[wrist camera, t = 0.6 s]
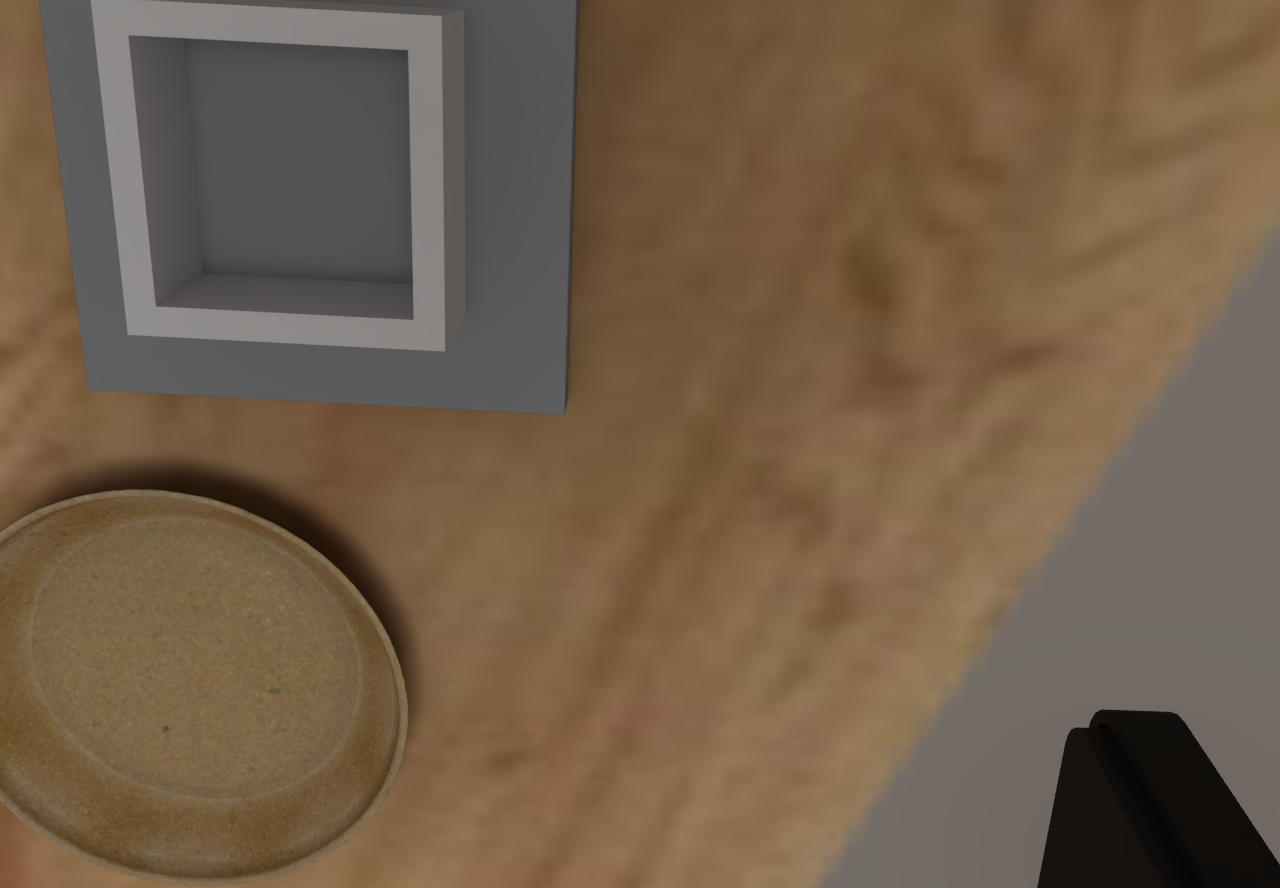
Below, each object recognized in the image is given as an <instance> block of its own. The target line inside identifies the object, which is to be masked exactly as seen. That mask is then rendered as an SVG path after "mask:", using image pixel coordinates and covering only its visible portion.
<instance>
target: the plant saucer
mask: <svg viewBox="0 0 1280 888" xmlns="http://www.w3.org/2000/svg"><path fill="white" fill-rule="evenodd" d="M407 726H408V701H407V693H406V687H405V681H404V678H403V675H402V671H401V667H400V664H399V661H398V658H397V655H396V652H395V650H394V647H393V645H392V643H391V640H390V638H389V636H388V634H387V632H386V630H385V628H384V627H383V625H382V623H381V621H380V620H379V618H378V617H377V615H376V614H375V612H374V610H373V609H372V608H371V606H370V605H369V603H368V602H367V601H366V599H365V598H364V597H363V596H362V594H361V593H360V591H359V590H358V589H357V588H356V587H355V586H354V585H353V584H352V582H351V581H350V580H349V579H348V578H347V577H346V576H345V575H344V574H343V573H342V572H341V571H340V570H339V569H338V568H337V567H336V566H335V565H334V564H332V563H331V562H330V561H329V560H328V559H327V558H326V557H324V556H323V555H322V554H321V553H319V552H318V551H317V550H316V549H314V548H313V547H312V546H310V545H309V544H308V543H306V542H305V541H303V540H302V539H300V538H299V537H297V536H295V535H294V534H292V533H291V532H289V531H287V530H286V529H284V528H282V527H280V526H278V525H276V524H274V523H273V522H270V521H268V520H266V519H264V518H262V517H260V516H258V515H255V514H253V513H251V512H249V511H246V510H244V509H241V508H238V507H236V506H233V505H230V504H227V503H224V502H220V501H217V500H214V499H211V498H207V497H202V496H196V495H191V494H185V493H179V492H172V491H164V490H147V489H126V490H113V491H106V492H97V493H92V494H87V495H82V496H77V497H73V498H70V499H67V500H63V501H60V502H57V503H54V504H51V505H49V506H46V507H44V508H41V509H39V510H37V511H35V512H32V513H30V514H28V515H26V516H25V517H23V518H21V519H20V520H18V521H16V522H15V523H13V524H12V525H10V526H8V527H7V528H5V529H4V530H3V531H1V532H0V801H1V802H2V803H3V804H4V805H5V806H6V807H8V808H9V809H10V810H11V811H12V812H13V813H14V814H15V815H16V816H17V817H18V818H20V819H21V820H22V821H24V822H25V823H26V824H28V825H29V826H31V827H32V828H33V829H34V830H35V831H37V832H38V833H40V834H41V835H43V836H44V837H46V838H47V839H49V840H50V841H52V842H53V843H55V844H57V845H59V846H60V847H62V848H64V849H65V850H67V851H69V852H71V853H73V854H75V855H77V856H79V857H80V858H84V859H87V860H88V861H90V862H92V863H95V864H97V865H99V866H101V867H104V868H107V869H109V870H112V871H115V872H119V873H121V874H125V875H129V876H132V877H135V878H139V879H145V880H152V881H155V882H160V883H167V884H172V885H186V886H225V885H235V884H245V883H252V882H257V881H262V880H267V879H270V878H274V877H278V876H282V875H285V874H288V873H291V872H294V871H297V870H299V869H301V868H304V867H306V866H308V865H310V864H312V863H314V862H317V861H318V860H320V859H322V858H324V857H326V856H327V855H329V854H330V853H332V852H333V851H335V850H336V849H338V848H339V847H341V846H342V845H343V844H345V843H346V842H347V841H349V840H350V839H351V838H352V837H353V836H354V835H356V834H357V832H358V831H359V830H360V829H361V828H362V827H363V826H364V825H365V824H366V823H367V822H368V821H369V820H370V819H371V818H372V817H373V816H374V814H375V813H376V812H377V811H378V809H379V808H380V806H381V805H382V803H383V802H384V800H385V798H386V796H387V794H388V792H389V790H390V788H391V787H392V785H393V782H394V779H395V777H396V774H397V772H398V769H399V767H400V764H401V761H402V758H403V753H404V748H405V743H406V739H407Z"/></svg>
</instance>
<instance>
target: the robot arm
mask: <svg viewBox="0 0 1280 888" xmlns="http://www.w3.org/2000/svg"><path fill="white" fill-rule="evenodd" d="M1037 888H1280V865H1279V863H1278V861H1277V860H1276V858H1275V857H1274V855H1273V854H1272V852H1271V851H1270V849H1269V848H1268V846H1267V845H1266V843H1265V842H1264V840H1263V839H1262V837H1261V836H1260V835H1259V833H1258V831H1257V830H1256V829H1255V827H1254V825H1253V824H1252V822H1251V821H1250V819H1249V818H1248V816H1247V815H1246V814H1245V812H1244V810H1243V809H1242V807H1241V806H1240V804H1239V803H1238V802H1237V800H1236V798H1235V797H1234V796H1233V794H1232V792H1231V791H1230V789H1229V788H1228V786H1227V785H1226V783H1225V782H1224V781H1223V779H1222V778H1221V776H1220V774H1219V773H1218V771H1217V770H1216V768H1215V767H1214V765H1213V764H1212V762H1211V761H1210V759H1209V758H1208V757H1207V755H1206V753H1205V752H1204V750H1203V749H1202V747H1201V746H1200V745H1199V743H1198V742H1197V740H1196V739H1195V737H1194V736H1193V734H1192V732H1191V731H1190V729H1189V728H1188V726H1187V725H1186V723H1185V722H1184V721H1183V720H1182V719H1181V718H1180V717H1179V716H1178V715H1177V714H1175V713H1172V712H1157V711H1155V712H1154V711H1128V710H1127V711H1126V710H1100V711H1098V712H1096V713H1095V715H1094V716H1093V718H1092V719H1091V721H1090V725H1089V728H1074V729H1072V730H1071V731H1070V733H1069V734H1068V736H1067V740H1066V743H1065V748H1064V753H1063V758H1062V764H1061V768H1060V774H1059V779H1058V784H1057V789H1056V794H1055V799H1054V805H1053V810H1052V815H1051V820H1050V825H1049V830H1048V836H1047V841H1046V846H1045V851H1044V856H1043V861H1042V866H1041V872H1040V877H1039V882H1038V887H1037Z"/></svg>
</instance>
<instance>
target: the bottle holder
mask: <svg viewBox="0 0 1280 888" xmlns="http://www.w3.org/2000/svg"><path fill="white" fill-rule="evenodd" d="M39 6H40V14H41V22H42V30H43V38H44V46H45V54H46V62H47V70H48V78H49V86H50V94H51V101H52V109H53V117H54V125H55V133H56V141H57V149H58V157H59V165H60V173H61V181H62V189H63V197H64V205H65V213H66V221H67V228H68V236H69V244H70V252H71V260H72V268H73V276H74V284H75V292H76V300H77V308H78V316H79V324H80V332H81V340H82V348H83V356H84V363H85V371H86V379H87V387H88V390H99V391H118V392H137V393H157V394H176V395H195V396H214V397H233V398H252V399H271V400H290V401H309V402H328V403H347V404H366V405H385V406H404V407H424V408H443V409H462V410H481V411H500V412H519V413H538V414H557V415H564V414H565V410H566V405H567V395H568V360H569V326H570V292H571V258H572V223H573V189H574V155H575V121H576V86H577V52H578V18H579V0H39Z"/></svg>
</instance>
